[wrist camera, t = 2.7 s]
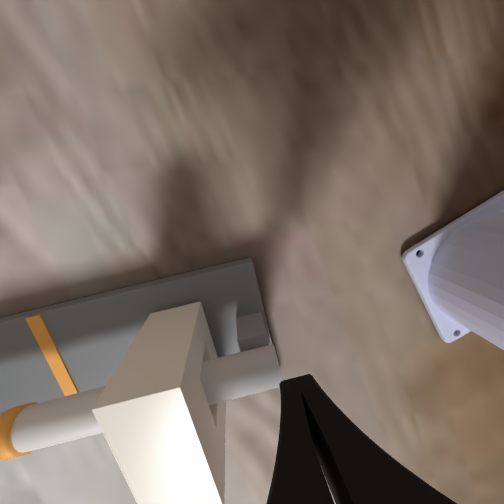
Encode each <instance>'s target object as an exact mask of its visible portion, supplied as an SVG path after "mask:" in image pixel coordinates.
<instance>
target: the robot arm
mask: <svg viewBox="0 0 504 504" xmlns="http://www.w3.org/2000/svg"><path fill="white" fill-rule="evenodd" d="M418 250H419V254H418V255H417V256H416V252H417V251H418ZM402 260H403V262H404V264H405V266H406V268H407V270H408V273H409V275H410V277H411V279H412V281H413V283H414V285H415V287H416V289H417V291H418V293H419V295H420V297H421V299H422V301H423V303H424V305H425V307H426V309H427V311H428V313H429V315H430V317H431V319H432V321H433V323H434V325H435V327H436V329H437V332H438V334H439V336H440V338H441V339H442V340H443V341H445V342H447V343H450V342H453V341H455V340H456V339H458V338H460V337H462V336H463V335H465V334H467V333H468V332H470V331H473V332H474V333H476V334H478V335H479V336H481V337H483V338H484V339H486V340H488V341H489V342H491V343H493V344H494V345H496V346H498V347H499V348H501V349H503V350H504V190H503V191H501V192H500V193H498V194H497V195H495V196H493V197H492V198H490V199H488V200H487V201H485V202H484V203H482V204H480V205H479V206H477V207H476V208H474V209H472V210H471V211H469V212H467V213H466V214H464V215H463V216H461V217H459V218H458V219H456V220H454V221H453V222H451V223H450V224H448V225H446V226H445V227H443V228H442V229H440V230H438V231H437V232H435V233H433V234H432V235H430V236H429V237H427V238H425V239H424V240H422V241H421V242H419V243H417V244H416V245H414V246H412V247H411V248H409V249H408V250H406V251H405V252H404V253H403V255H402ZM279 385H280V392H281V418H280V432H279V440H278V448H277V455H276V462H275V467H274V472H273V478H272V483H271V487H270V491H269V496H268V500H267V504H334V502H333V499H332V496H331V493H330V491H329V488H328V485H329V487H330V490H331V492H332V495H333V497H334V500H335V502H336V504H457V503H455V502H454V501H452V500H451V499H449V498H448V497H446V496H445V495H443V494H442V493H440V492H439V491H437V490H436V489H434V488H433V487H431V486H430V485H429V484H427V483H426V482H424V481H423V480H422V479H420V478H419V477H418V476H416V475H415V474H413V473H412V472H411V471H409V470H408V469H406V468H405V467H404V466H402V465H401V464H400V463H399V462H397V461H396V460H395V459H394V458H392V457H391V456H390V455H389V454H387V453H386V452H385V451H384V450H383V449H381V448H380V447H379V446H378V445H377V444H375V443H374V442H373V441H372V440H371V439H370V438H369V437H368V436H366V435H365V434H364V433H363V432H362V431H361V430H360V429H359V428H358V427H357V426H356V425H355V424H354V423H353V422H352V421H351V420H350V419H349V418H348V417H347V416H346V415H345V414H344V413H343V412H342V411H341V410H340V409H339V408H338V407H337V406H336V405H335V404H334V403H333V401H332V400H331V399H330V398H329V397H328V396H327V395H326V393H325V392H324V391H323V390H322V389H321V387H320V386H319V385H318V383H317V382H316V381H315V379H314V378H313V376H312V375H310V374H307V375H304V376H300V377H296V378H292V379H288V380H284V381H281V382H280V384H279ZM321 467H322V468H321ZM322 470H323V471H322ZM323 472H324V474H323ZM324 475H325V477H326V479H325V477H324ZM326 480H327V482H328V485H327V482H326Z"/></svg>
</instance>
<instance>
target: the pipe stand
mask: <svg viewBox="0 0 504 504" xmlns="http://www.w3.org/2000/svg"><path fill="white" fill-rule="evenodd" d="M200 301H201V304H202V307H203V310H204V314H205V317H206V320H207V324H208V327H209V330H210V333H211V337H212V340H213V343H214V347H215V350H216V353H217V356H218V358H215V359H211V360H207V361H203V362H202V368H201V375H200V381H201V384H202V387H203V390H204V393H205V396H206V399H207V402H208V405H212V404H216V403H220V402H224V401H228V400H232V399H236V398H240V397H243V396H247V395H251V394H255V393H259V392H263V391H267V390H271V389H275V388H279V387H280V385H279V384H280V382H281V381H283V379H282V375H281V371H280V367H279V363H278V359H277V355H276V351H275V348H274V344H272V342H271V337H270V333H269V329H268V325H267V320H266V316H265V312H264V308H263V303H262V299H261V295H260V291H259V286H258V282H257V278H256V273H255V269H254V265H253V261H252V258H251V257H249V258H245V259H240V260H236V261H232V262H228V263H224V264H220V265H216V266H211V267H207V268H203V269H199V270H195V271H191V272H187V273H182V274H178V275H174V276H170V277H166V278H162V279H158V280H153V281H149V282H145V283H141V284H137V285H133V286H129V287H124V288H120V289H116V290H112V291H108V292H104V293H100V294H95V295H91V296H87V297H83V298H79V299H75V300H71V301H66V302H62V303H58V304H54V305H50V306H46V307H42V308H37V309H33V310H29V311H25V312H21V313H17V314H13V315H8V316H4V317H0V459H1V460H7V459H11V458H15V457H19V456H23V455H26V454H29V453H30V452H32V451H33V450H36V449H40V448H44V447H48V446H52V445H56V444H60V443H64V442H68V441H72V440H76V439H79V438H83V437H87V436H91V435H95V434H99V433H103V432H102V430H101V428H100V426H99V424H98V422H97V420H96V418H95V416H94V414H93V411H92V408H93V407H94V405H95V404H96V402H97V400H98V399H99V397H100V395H101V394H102V392H103V390H104V389H105V387H106V385H107V384H108V382H109V381H110V379H111V377H112V376H113V374H114V372H115V371H116V369H117V367H118V366H119V364H120V363H121V361H122V359H123V358H124V356H125V354H126V353H127V351H128V349H129V348H130V346H131V344H132V343H133V341H134V340H135V338H136V336H137V335H138V333H139V331H140V330H141V328H142V326H143V325H144V323H145V322H146V320H147V318H148V317H149V315H150V314H151V313H155V312H159V311H163V310H167V309H171V308H175V307H180V306H184V305H188V304H192V303H196V302H200Z"/></svg>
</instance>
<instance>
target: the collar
mask: <svg viewBox="0 0 504 504" xmlns="http://www.w3.org/2000/svg"><path fill="white" fill-rule="evenodd" d="M215 358H218V356H217V353H216V350H215V347H214V343H213V340H212V337H211V333H210V330H209V327H208V324H207V320H206V317H205V314H204V310H203V307H202V304H201V301H200V302H196V303H192V304H188V305H184V306H180V307H175V308H171V309H167V310H163V311H159V312H155V313H151V314H150V315H149V317H148V318H147V320H146V322H145V323H144V325H143V326H142V328H141V330H140V331H139V333H138V335H137V336H136V338H135V340H134V341H133V343H132V344H131V346H130V348H129V349H128V351H127V353H126V354H125V356H124V358H123V359H122V361H121V363H120V364H119V366H118V367H117V369H116V371H115V372H114V374H113V376H112V377H111V379H110V381H109V382H108V384H107V385H106V387H105V389H104V390H103V392H102V394H101V395H100V397H99V399H98V400H97V402H96V404H95V405H94V407H93V408H92V411H93V414H94V416H95V418H96V420H97V422H98V424H99V426H100V428H101V430H102V432H103V434H104V436H105V438H106V440H107V442H108V444H109V446H110V448H111V450H112V453H113V455H114V457H115V459H116V461H117V463H118V465H119V467H120V469H121V471H122V473H123V475H124V477H125V479H126V481H127V483H128V485H129V487H130V489H131V492H132V494H133V496H134V498H135V500H136V502H137V504H224V485H225V414H226V401H224V402H220V403H216V404H212V405H208V402H207V399H206V396H205V393H204V390H203V387H202V384H201V381H200V375H201V368H202V362H203V361H207V360H211V359H215Z"/></svg>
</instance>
